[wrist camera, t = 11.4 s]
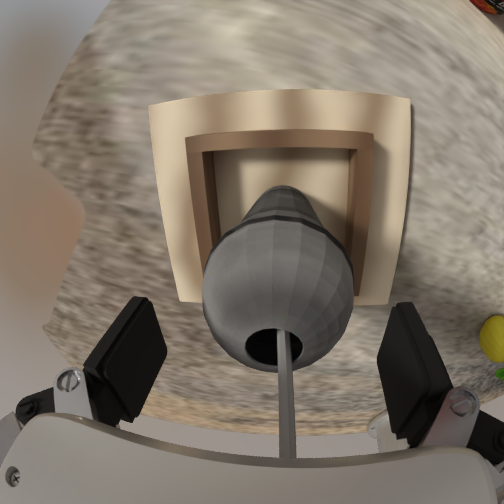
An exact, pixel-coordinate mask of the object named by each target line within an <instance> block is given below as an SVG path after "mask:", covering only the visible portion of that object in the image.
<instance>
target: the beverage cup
mask: <svg viewBox="0 0 504 504" xmlns="http://www.w3.org/2000/svg"><path fill="white" fill-rule="evenodd" d="M202 301H203V312H204V317H205V319H206V321H207V323H208V326H209V328H210V330H211V332H212V335H213V337H214V339H215V340H216V341H217V342H218V344H219V345H220V346H221V347H222V348H223V349H224V350H225V351H226V352H227V353H228V354H229V356H231V357H232V358H234V359H236V360H237V361H239V362H240V363H242V364H244V365H246V366H247V367H250V368H253V369H256V370H260V371H265V372H274V373H278V385H279V448H280V449H279V458H296V431H295V408H294V389H293V371H294V370H297V369H300V368H303V367H306V366H309V365H311V364H313V363H314V362H316V361H317V360H319V359H321V358H322V357H324V356H325V355H326V354H327V353H328V352H330V350H331V349H332V348H333V347H334V346H335V344H336V343H337V342H338V341H339V340H340V338H341V337H342V335H343V334H344V332H345V330H346V327H347V324H348V321H349V319H350V316H351V313H352V309H353V306H354V273H353V265H352V262H351V260H350V258H349V256H348V254H347V252H346V250H345V248H344V246H343V245H342V244H341V243H340V242H339V241H338V240H337V239H336V238H335V237H334V236H333V235H332V234H331V233H330V232H329V231H328V230H327V229H325V228H324V227H323V225H322V223H321V221H320V220H319V218H318V216H317V214H316V213H315V211H314V209H313V207H312V206H311V204H310V202H309V201H308V199H307V198H306V197H305V196H304V194H302V193H301V192H300V191H299V190H298V189H296V188H294V187H291V186H286V185H279V186H274V187H272V188H270V189H268V190H266V191H265V192H264V193H263V194H262V195H261V196H260V197H259V198H258V199H257V201H256V202H255V203H254V205H253V206H252V207H251V209H250V210H249V211H248V213H247V214H246V215H245V217H244V218H243V220H242V221H241V222H240V223H239V224H238V225H236V226H235V227H234V228H233V229H231V230H229V231H227V232H226V233H225V234H224V235H223V236H222V237H221V239H220V240H219V241H218V242H217V243H216V244H215V245H214V247H213V248H212V249H211V251H210V254H209V257H208V259H207V262H206V265H205V268H204V279H203V283H202Z"/></svg>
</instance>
